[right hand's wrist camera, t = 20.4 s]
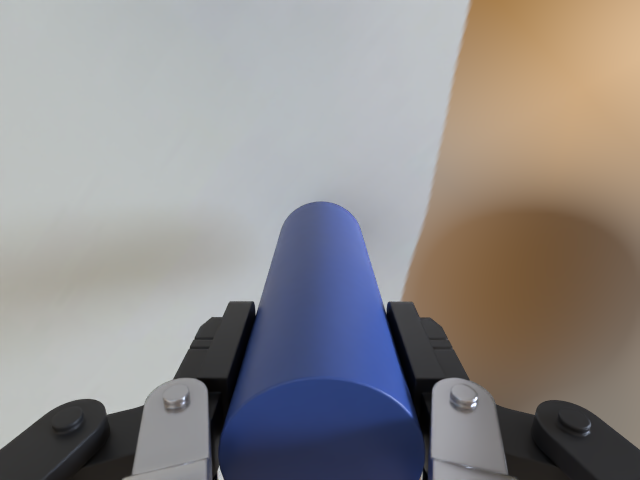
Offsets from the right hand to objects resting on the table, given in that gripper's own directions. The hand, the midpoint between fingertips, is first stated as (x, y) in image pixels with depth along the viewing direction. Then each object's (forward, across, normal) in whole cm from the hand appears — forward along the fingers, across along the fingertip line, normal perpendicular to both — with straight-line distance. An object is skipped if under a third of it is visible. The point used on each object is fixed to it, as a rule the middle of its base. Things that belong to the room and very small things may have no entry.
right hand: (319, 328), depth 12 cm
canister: (+8, 0, 0) cm, 8 cm away
